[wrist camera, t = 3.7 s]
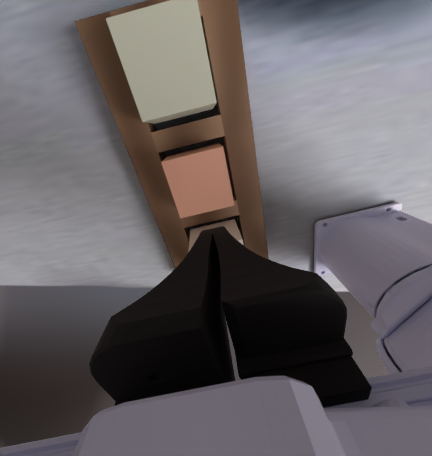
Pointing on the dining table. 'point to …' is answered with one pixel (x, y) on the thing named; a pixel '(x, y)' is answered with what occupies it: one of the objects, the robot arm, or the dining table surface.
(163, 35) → the sage button
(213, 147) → the terracotta button
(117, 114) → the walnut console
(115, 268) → the dining table surface
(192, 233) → the cream button
